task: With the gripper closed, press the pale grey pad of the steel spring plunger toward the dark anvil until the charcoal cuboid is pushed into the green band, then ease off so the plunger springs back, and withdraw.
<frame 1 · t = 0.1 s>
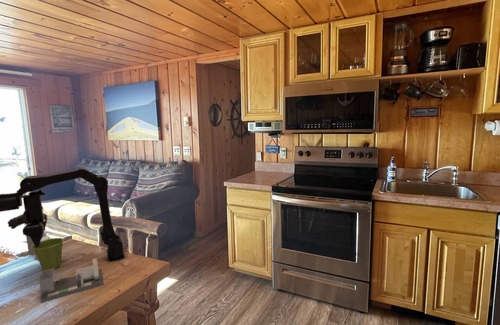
hand: (38, 243, 117), 15 cm above the table, tool pointing down, fingers open, 9 cm apart
supplement bottle: (44, 257, 137), on the table
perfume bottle: (38, 252, 144), on the table
gauge bench: (74, 285, 111), on the table
plant pot: (51, 267, 127), on the table
charcoal cuboid: (78, 282, 107), point 3 cm above the table, slide at 0.0 cm
plunger: (87, 271, 113), point 4 cm above the table, slide at 0.0 cm
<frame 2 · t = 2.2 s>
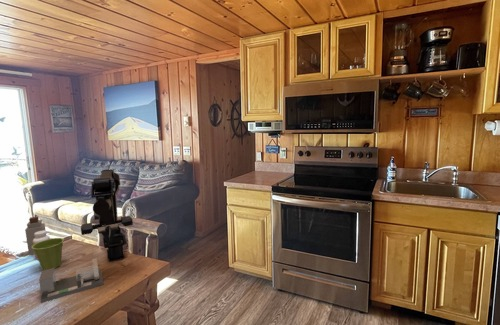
hand: (109, 244, 117), 13 cm above the table, tool pointing down, fingers closed
nothing on the table moved.
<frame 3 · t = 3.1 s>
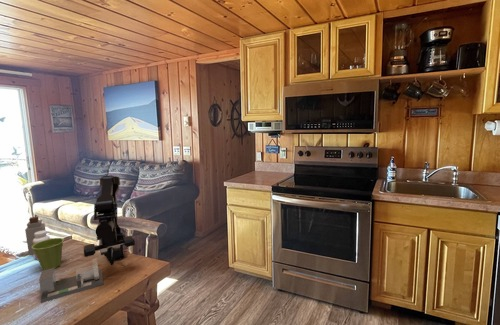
hand: (112, 264, 118), 4 cm above the table, tool pointing down, fingers closed
nothing on the table moved.
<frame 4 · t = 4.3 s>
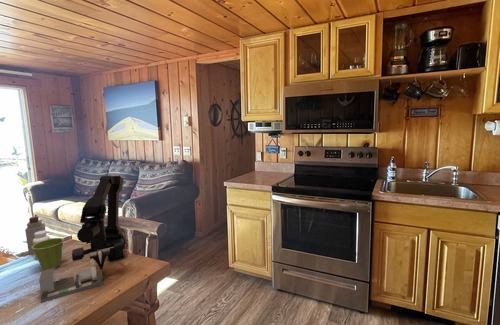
hand: (101, 268, 116), 4 cm above the table, tool pointing down, fingers closed
charcoal cuboid: (77, 282, 107), point 3 cm above the table, slide at 0.5 cm, touching plunger
plunger: (85, 272, 112), point 4 cm above the table, slide at 0.8 cm, touching charcoal cuboid, gripper
everything else where it was.
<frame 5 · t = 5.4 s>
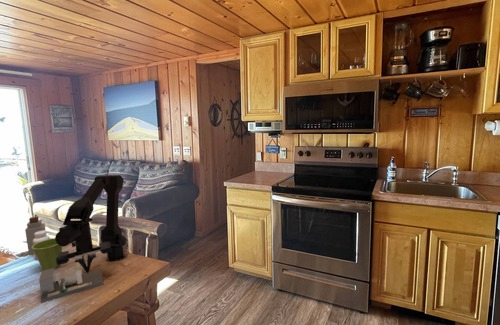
hand: (87, 272, 113), 4 cm above the table, tool pointing down, fingers closed
charcoal cuboid: (61, 287, 104), point 3 cm above the table, slide at 5.5 cm, touching plunger
plunger: (70, 276, 110), point 4 cm above the table, slide at 5.8 cm, touching charcoal cuboid, gripper
everything else where it was.
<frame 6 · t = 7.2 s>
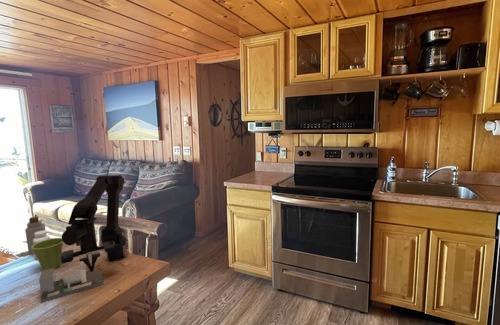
hand: (91, 271, 114), 4 cm above the table, tool pointing down, fingers closed
charcoal cuboid: (61, 287, 104), point 3 cm above the table, slide at 5.6 cm
plunger: (74, 275, 110), point 4 cm above the table, slide at 4.3 cm, touching gripper
everything else where it was.
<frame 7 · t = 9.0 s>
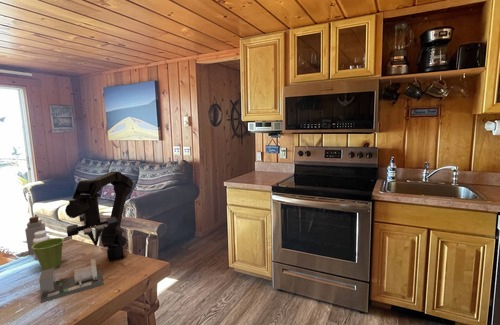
hand: (95, 245, 119), 12 cm above the table, tool pointing down, fingers closed
plunger: (85, 272, 112), point 4 cm above the table, slide at 0.6 cm
everything else where it was.
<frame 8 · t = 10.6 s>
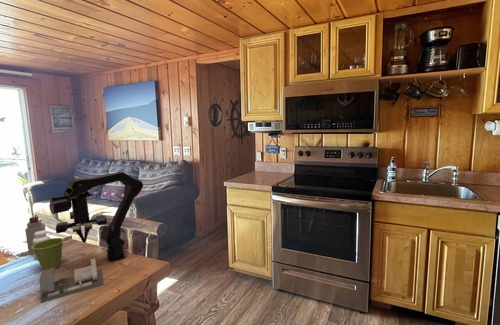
hand: (84, 242, 123), 12 cm above the table, tool pointing down, fingers closed
nothing on the table moved.
at the end: charcoal cuboid slide at 5.6 cm; plunger slide at 0.6 cm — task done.
